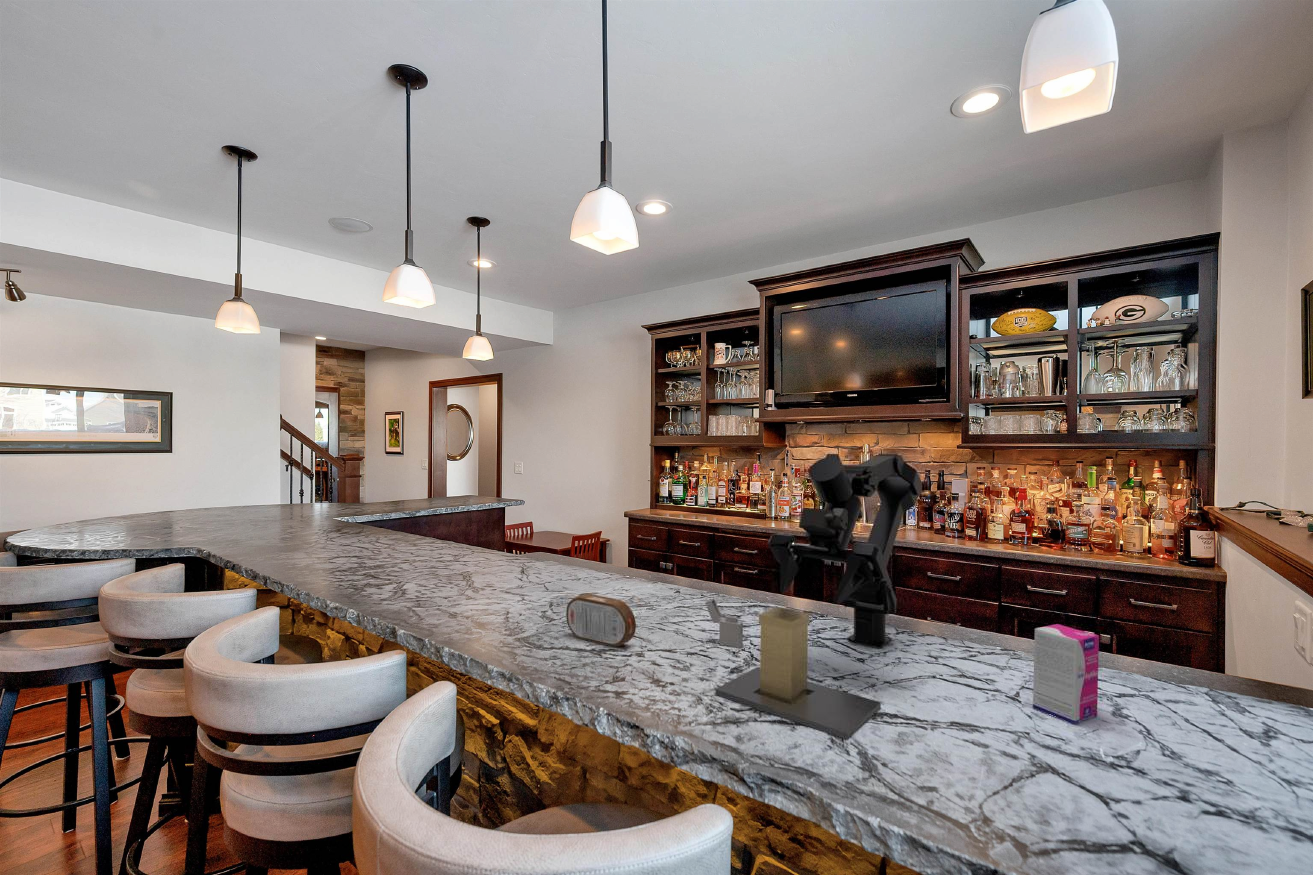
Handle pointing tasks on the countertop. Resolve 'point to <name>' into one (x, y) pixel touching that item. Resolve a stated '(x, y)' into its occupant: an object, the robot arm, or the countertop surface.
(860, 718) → the grey plate with hole
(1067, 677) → the supplement box
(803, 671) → the tan square peg
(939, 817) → the countertop surface
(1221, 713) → the countertop surface
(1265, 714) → the countertop surface
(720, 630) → the lighter
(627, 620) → the tin
